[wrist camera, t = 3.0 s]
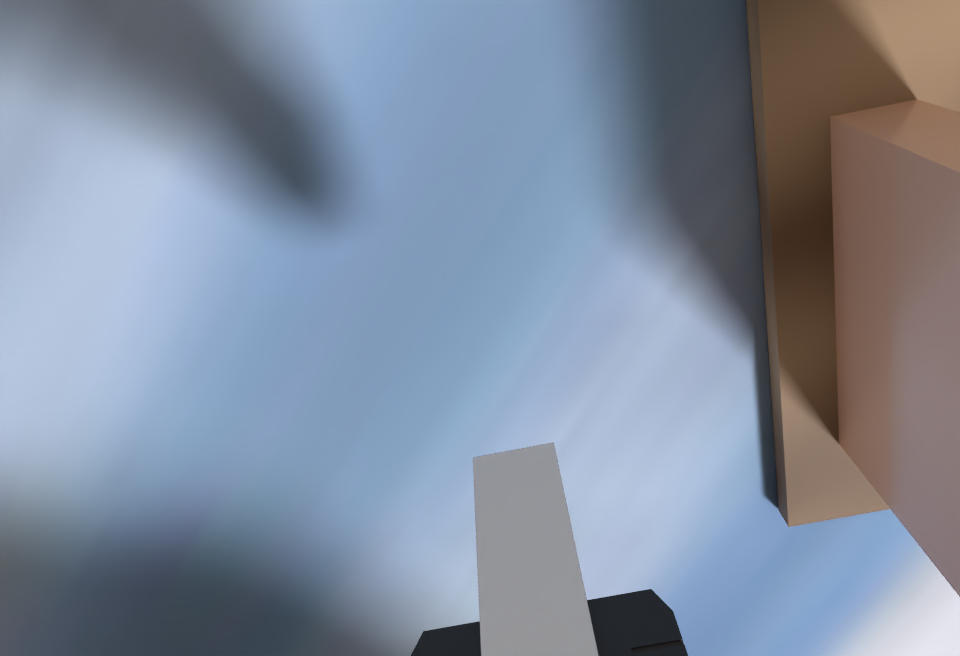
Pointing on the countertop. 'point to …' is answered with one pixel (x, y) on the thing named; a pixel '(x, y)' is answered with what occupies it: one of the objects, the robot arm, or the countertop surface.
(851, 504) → the board
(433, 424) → the countertop surface
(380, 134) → the countertop surface
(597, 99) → the countertop surface
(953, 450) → the tile
